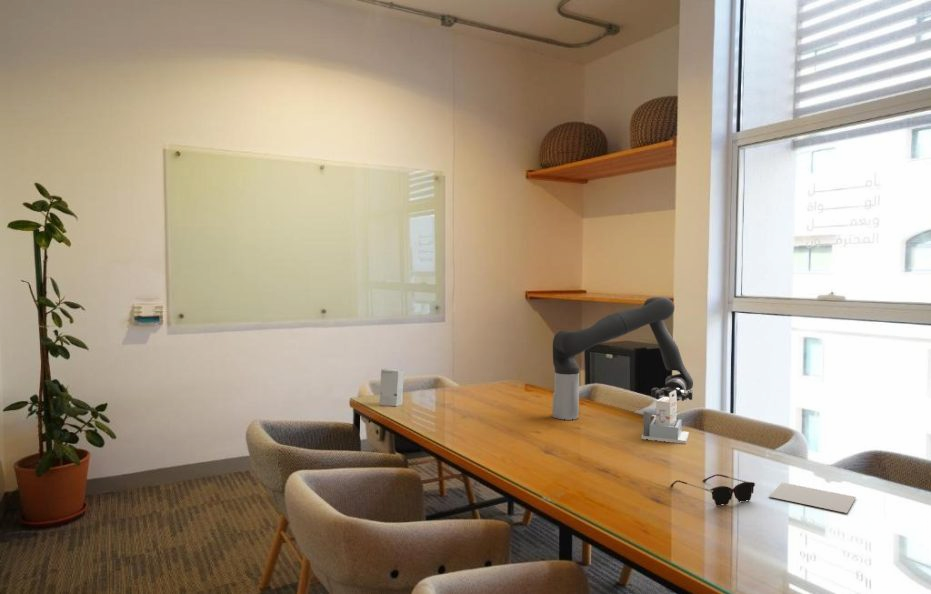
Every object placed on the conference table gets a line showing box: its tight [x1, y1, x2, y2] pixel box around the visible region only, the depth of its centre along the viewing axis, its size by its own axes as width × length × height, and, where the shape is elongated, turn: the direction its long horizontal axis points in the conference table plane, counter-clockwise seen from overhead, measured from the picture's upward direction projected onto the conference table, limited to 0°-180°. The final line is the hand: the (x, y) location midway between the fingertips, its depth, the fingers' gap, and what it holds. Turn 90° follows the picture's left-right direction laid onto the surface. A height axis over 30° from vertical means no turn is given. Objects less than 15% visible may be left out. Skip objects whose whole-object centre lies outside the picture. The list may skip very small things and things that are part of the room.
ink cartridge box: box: [655, 390, 678, 427], centre depth 214 cm, size 9×5×15 cm, turn 147°
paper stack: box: [768, 482, 856, 514], centre depth 156 cm, size 23×25×1 cm
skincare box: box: [379, 367, 405, 407], centre depth 262 cm, size 8×6×15 cm
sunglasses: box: [670, 474, 756, 507], centre depth 158 cm, size 14×16×5 cm
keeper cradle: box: [641, 410, 690, 445], centre depth 213 cm, size 14×13×9 cm
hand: (670, 396), depth 224 cm, fingers open, 8 cm apart
